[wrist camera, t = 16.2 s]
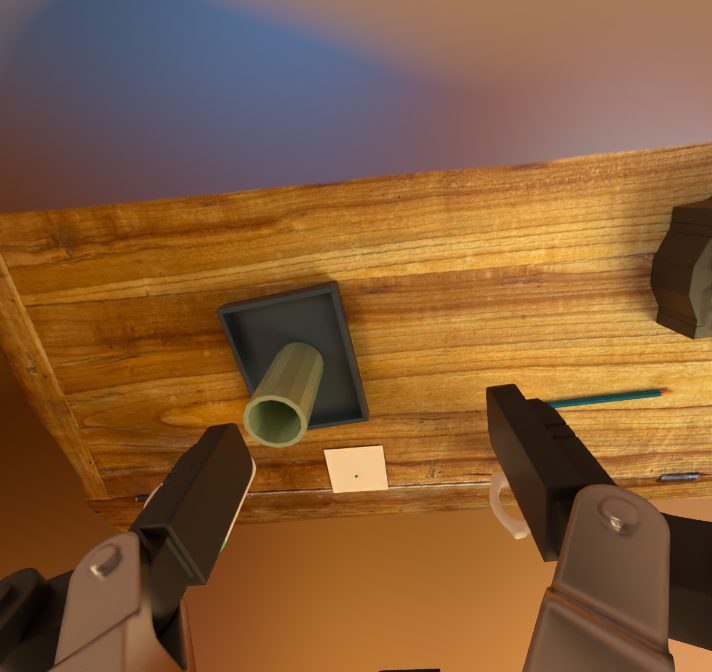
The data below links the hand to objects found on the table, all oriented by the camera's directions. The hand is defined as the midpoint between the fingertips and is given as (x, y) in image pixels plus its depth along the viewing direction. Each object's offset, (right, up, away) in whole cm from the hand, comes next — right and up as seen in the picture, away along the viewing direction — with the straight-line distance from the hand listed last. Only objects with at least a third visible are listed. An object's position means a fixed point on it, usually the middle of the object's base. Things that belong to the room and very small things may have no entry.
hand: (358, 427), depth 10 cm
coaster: (0, -16, +35) cm, 39 cm away
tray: (-7, 0, +29) cm, 30 cm away
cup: (-7, 0, +28) cm, 29 cm away
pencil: (+29, -5, +29) cm, 42 cm away
